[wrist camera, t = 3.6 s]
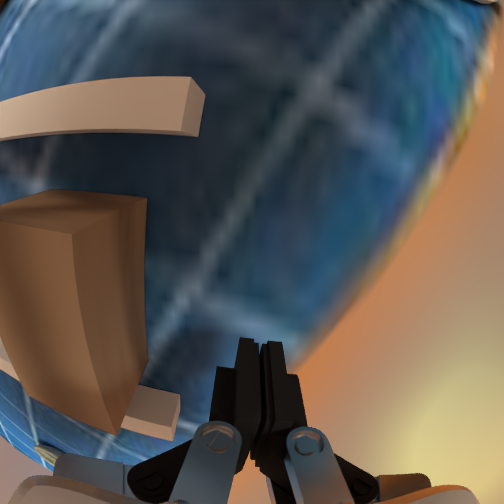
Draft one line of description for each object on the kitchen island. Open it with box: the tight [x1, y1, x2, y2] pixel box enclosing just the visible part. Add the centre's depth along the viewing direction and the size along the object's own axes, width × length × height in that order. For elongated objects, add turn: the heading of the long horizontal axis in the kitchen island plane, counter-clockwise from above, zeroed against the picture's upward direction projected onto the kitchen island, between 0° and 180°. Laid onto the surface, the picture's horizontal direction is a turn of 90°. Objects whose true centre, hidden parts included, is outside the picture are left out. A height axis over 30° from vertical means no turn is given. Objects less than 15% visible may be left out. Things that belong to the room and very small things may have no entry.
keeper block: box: [0, 189, 148, 436], centre depth 10 cm, size 6×10×6 cm, turn 171°
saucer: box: [34, 445, 65, 466], centre depth 24 cm, size 10×10×2 cm
